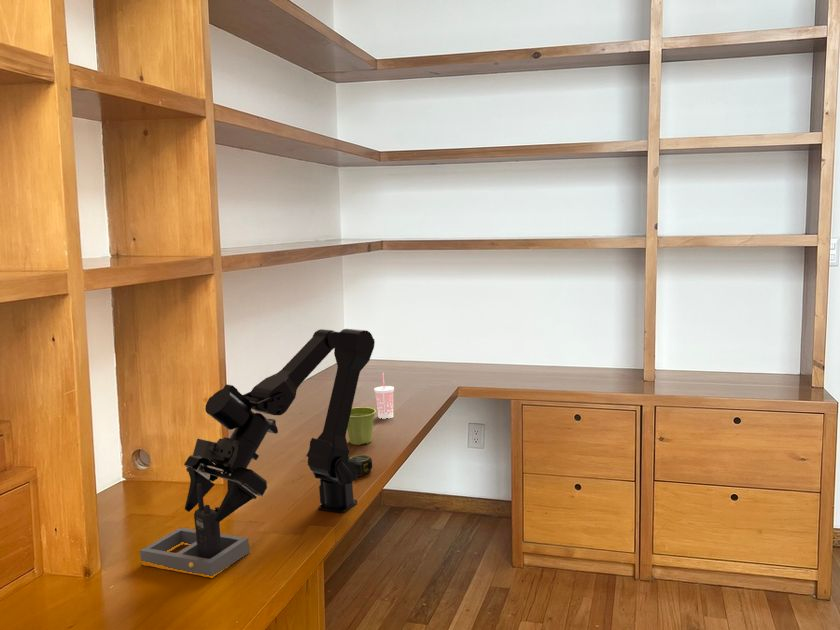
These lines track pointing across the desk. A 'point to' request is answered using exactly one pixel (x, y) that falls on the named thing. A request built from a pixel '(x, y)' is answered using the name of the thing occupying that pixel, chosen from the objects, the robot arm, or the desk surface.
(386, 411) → the beverage cup
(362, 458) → the tape measure
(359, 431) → the plant pot
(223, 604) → the desk surface
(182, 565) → the charging station
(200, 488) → the two-way radio
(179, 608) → the desk surface
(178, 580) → the desk surface
